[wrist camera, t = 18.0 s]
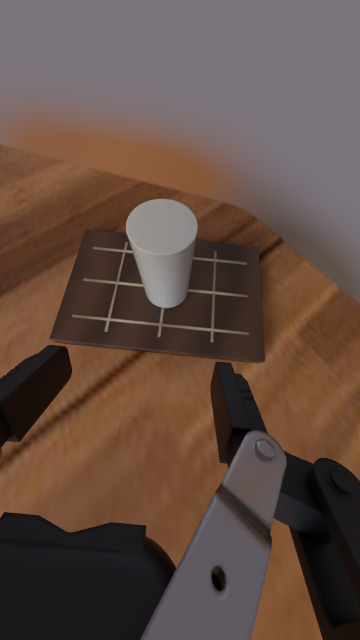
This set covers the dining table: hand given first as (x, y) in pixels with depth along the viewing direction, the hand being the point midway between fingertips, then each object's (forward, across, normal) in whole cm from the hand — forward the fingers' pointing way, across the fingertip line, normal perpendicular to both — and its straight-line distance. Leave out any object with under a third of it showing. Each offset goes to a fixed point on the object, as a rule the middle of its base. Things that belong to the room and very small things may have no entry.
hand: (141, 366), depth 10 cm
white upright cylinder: (+10, 0, -1) cm, 10 cm away
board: (+12, 0, 0) cm, 12 cm away
